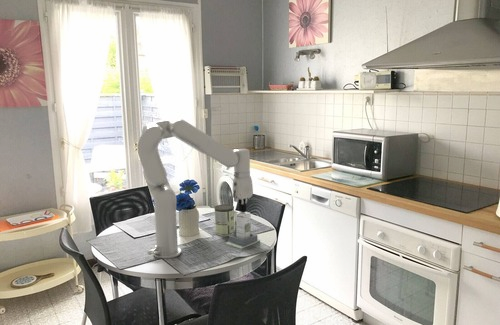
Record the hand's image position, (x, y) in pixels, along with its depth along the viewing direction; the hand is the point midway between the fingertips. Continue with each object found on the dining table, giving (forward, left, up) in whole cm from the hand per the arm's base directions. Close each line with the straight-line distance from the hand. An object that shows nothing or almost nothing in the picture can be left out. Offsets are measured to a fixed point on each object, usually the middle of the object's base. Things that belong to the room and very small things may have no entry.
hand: (242, 211), depth 201 cm
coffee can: (+4, +17, -16) cm, 24 cm away
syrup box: (0, 0, -15) cm, 15 cm away
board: (0, 0, -16) cm, 16 cm away
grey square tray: (0, 0, -16) cm, 16 cm away
